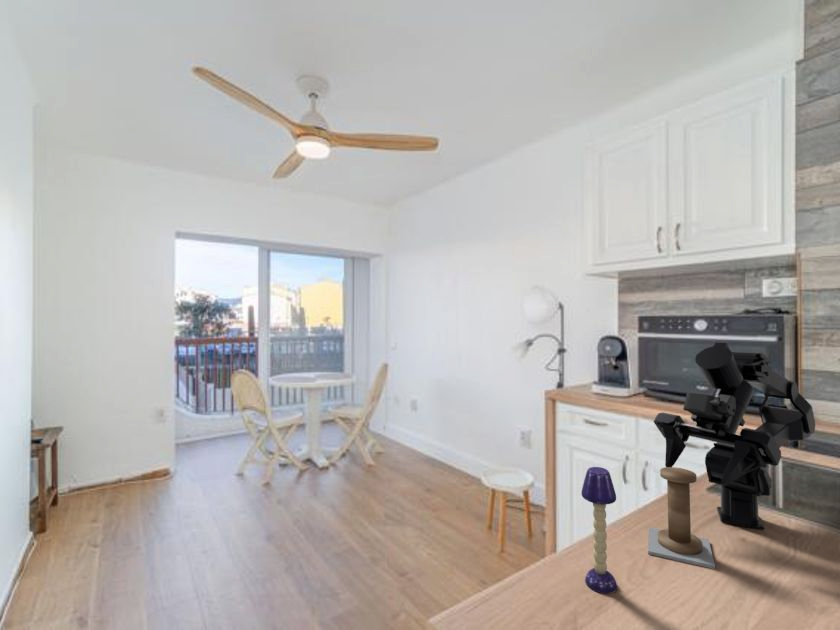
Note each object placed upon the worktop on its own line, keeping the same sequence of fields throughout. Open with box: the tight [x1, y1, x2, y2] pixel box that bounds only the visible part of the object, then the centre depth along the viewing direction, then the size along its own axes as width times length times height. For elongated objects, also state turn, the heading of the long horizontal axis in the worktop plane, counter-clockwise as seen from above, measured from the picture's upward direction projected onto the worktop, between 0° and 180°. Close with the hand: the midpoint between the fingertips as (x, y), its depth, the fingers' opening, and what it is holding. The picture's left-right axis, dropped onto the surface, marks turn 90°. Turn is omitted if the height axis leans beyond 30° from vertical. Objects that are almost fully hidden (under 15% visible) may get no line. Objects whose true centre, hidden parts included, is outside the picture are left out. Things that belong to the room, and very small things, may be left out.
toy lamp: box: [581, 466, 618, 594], centre depth 62 cm, size 5×5×17 cm
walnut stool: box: [658, 466, 703, 555], centre depth 72 cm, size 6×6×12 cm
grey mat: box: [647, 527, 716, 570], centre depth 72 cm, size 9×9×1 cm
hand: (693, 475), depth 74 cm, fingers open, 9 cm apart
